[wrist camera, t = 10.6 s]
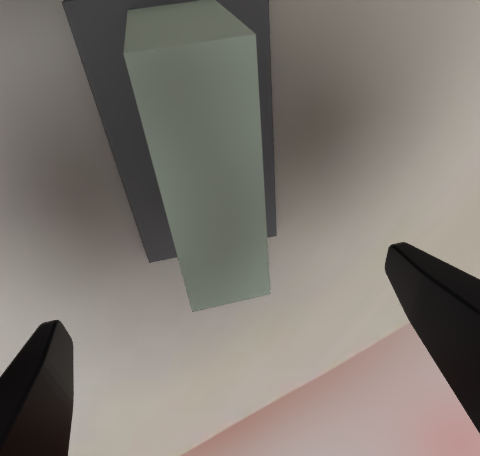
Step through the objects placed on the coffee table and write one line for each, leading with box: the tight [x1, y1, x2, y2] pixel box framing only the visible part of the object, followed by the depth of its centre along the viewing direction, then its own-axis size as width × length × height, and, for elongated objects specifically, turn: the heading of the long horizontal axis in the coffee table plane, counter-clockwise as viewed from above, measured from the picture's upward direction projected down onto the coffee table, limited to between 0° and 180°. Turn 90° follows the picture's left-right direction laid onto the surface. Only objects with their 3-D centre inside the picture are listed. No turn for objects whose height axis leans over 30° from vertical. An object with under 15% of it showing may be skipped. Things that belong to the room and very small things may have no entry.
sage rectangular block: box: [123, 0, 270, 312], centre depth 14 cm, size 9×3×6 cm, turn 5°
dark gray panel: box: [62, 0, 276, 263], centre depth 17 cm, size 7×12×1 cm, turn 5°
